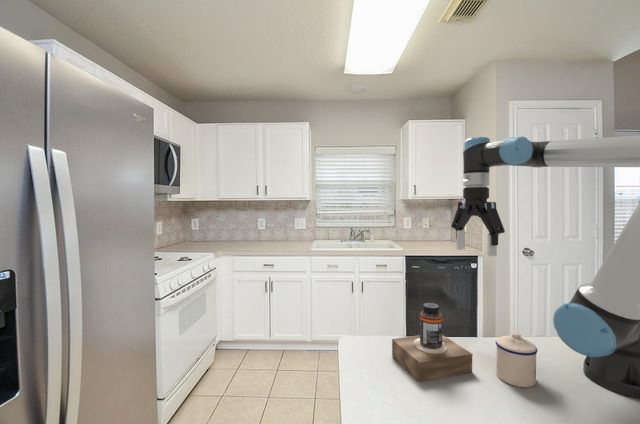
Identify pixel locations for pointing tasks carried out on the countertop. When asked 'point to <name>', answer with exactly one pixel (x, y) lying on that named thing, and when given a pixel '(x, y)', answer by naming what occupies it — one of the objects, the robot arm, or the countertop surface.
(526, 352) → the cream ceramic oval pot
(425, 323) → the supplement bottle
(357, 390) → the countertop surface
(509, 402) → the countertop surface
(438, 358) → the walnut stand
